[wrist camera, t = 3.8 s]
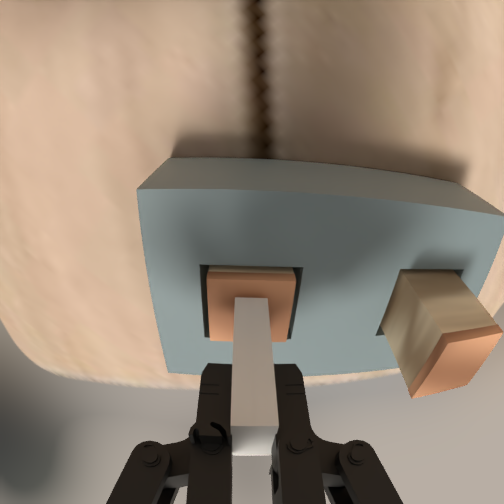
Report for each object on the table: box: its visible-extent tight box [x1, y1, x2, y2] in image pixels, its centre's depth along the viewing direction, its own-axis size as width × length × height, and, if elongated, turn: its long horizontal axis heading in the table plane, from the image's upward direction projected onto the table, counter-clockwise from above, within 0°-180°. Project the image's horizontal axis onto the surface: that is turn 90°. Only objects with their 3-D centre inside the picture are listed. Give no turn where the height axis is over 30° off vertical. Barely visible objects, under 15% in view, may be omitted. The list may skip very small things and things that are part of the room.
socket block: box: [137, 157, 504, 376], centre depth 18 cm, size 12×20×6 cm, turn 87°
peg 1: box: [207, 265, 296, 342], centre depth 17 cm, size 4×4×6 cm
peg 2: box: [380, 269, 503, 398], centre depth 14 cm, size 4×4×6 cm
